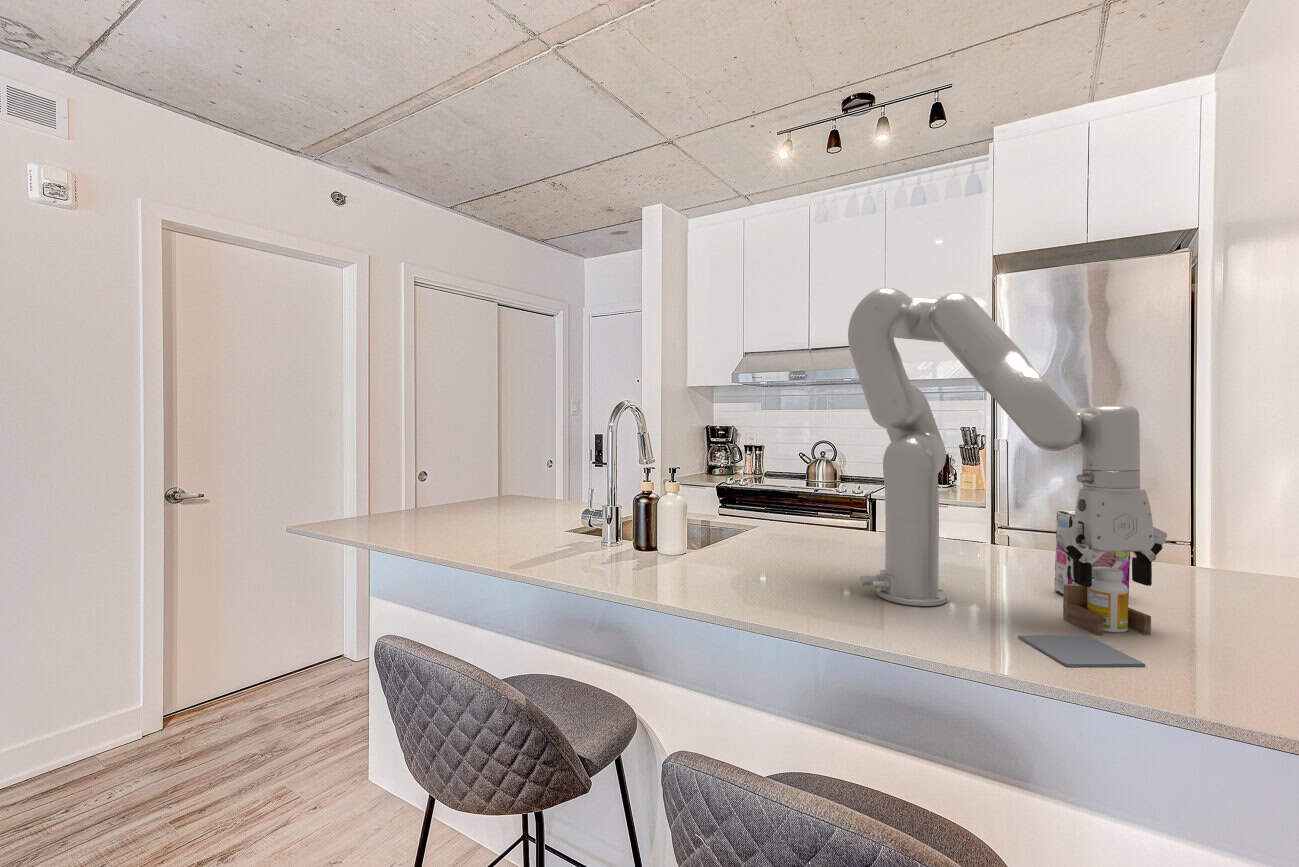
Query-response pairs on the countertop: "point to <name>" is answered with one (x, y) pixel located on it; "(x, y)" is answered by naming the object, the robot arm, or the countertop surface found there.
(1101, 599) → the supplement bottle
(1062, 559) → the candy bar box
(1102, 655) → the slate mat
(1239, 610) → the countertop surface
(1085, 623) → the shelf slot
